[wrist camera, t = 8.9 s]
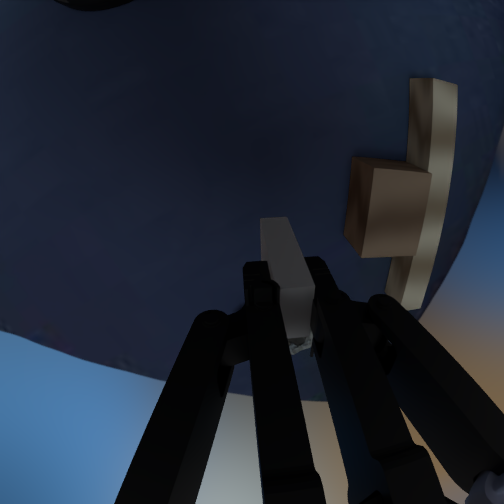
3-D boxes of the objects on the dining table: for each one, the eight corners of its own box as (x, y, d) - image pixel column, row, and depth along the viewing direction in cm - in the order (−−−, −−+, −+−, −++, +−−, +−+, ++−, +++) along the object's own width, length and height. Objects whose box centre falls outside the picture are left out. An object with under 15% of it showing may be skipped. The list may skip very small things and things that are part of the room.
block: (351, 156, 26) (374, 168, 22) (404, 161, 27) (432, 173, 22) (343, 234, 30) (361, 257, 26) (393, 233, 30) (415, 255, 26)
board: (409, 78, 23) (433, 78, 19) (433, 83, 23) (457, 84, 19) (384, 291, 34) (398, 311, 30) (405, 288, 34) (420, 308, 30)
